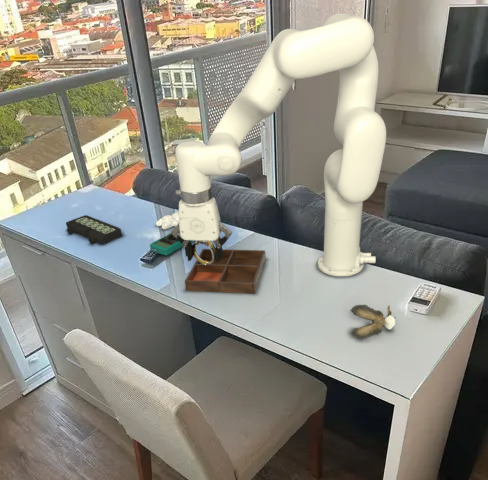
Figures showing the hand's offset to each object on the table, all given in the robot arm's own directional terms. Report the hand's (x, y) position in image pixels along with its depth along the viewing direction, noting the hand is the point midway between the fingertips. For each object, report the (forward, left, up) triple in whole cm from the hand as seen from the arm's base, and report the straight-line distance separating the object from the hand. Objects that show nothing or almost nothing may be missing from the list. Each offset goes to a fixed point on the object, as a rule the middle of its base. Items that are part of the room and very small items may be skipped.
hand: (204, 258), depth 130 cm
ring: (0, 0, -2) cm, 2 cm away
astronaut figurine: (+22, -39, -8) cm, 45 cm away
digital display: (+48, -29, -8) cm, 56 cm away
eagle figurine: (-44, +18, -8) cm, 48 cm away
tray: (-5, -5, -7) cm, 10 cm away
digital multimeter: (+16, -22, -8) cm, 28 cm away
